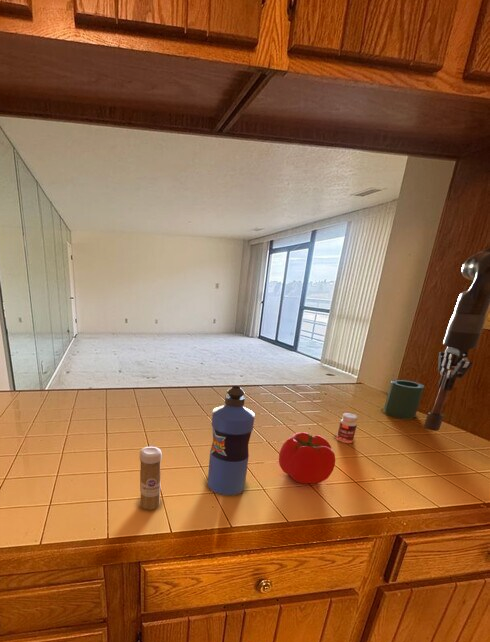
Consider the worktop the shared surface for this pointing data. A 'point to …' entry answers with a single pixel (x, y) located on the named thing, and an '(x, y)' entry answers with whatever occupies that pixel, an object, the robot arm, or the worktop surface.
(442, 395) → the brush
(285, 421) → the worktop surface
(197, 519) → the worktop surface
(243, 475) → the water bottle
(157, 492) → the sprinkles bottle
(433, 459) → the worktop surface
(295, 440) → the tomato
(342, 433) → the pill bottle
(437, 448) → the worktop surface
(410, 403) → the jar
